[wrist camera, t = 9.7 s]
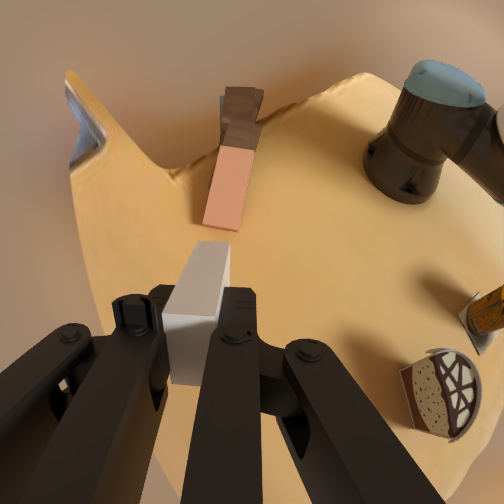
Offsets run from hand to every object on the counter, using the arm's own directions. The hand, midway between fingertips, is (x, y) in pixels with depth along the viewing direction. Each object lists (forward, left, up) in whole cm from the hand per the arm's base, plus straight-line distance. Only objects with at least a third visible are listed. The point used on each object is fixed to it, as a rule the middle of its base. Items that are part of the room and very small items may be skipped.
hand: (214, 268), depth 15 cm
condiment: (-34, +22, -26) cm, 48 cm away
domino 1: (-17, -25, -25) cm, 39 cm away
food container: (-18, +22, -26) cm, 38 cm away
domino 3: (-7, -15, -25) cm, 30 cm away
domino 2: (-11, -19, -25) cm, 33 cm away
